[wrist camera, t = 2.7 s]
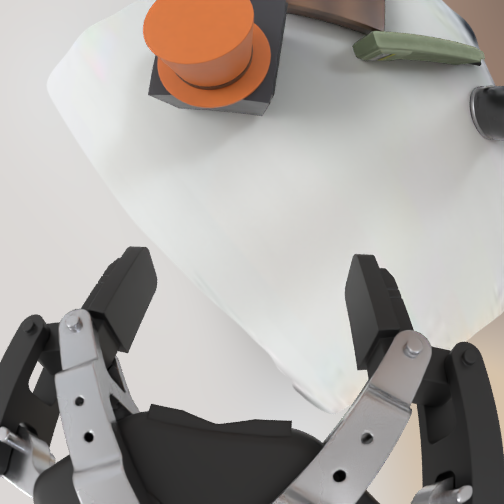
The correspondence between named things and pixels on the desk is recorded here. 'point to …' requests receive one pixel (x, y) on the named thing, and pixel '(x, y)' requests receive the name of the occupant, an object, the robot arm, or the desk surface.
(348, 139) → the desk surface
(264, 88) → the dark grey cube pedestal
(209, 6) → the hat
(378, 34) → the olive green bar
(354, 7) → the stand
